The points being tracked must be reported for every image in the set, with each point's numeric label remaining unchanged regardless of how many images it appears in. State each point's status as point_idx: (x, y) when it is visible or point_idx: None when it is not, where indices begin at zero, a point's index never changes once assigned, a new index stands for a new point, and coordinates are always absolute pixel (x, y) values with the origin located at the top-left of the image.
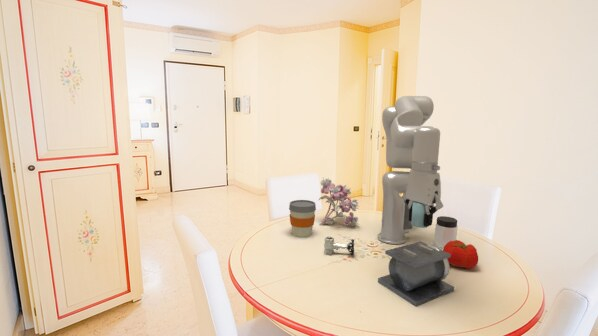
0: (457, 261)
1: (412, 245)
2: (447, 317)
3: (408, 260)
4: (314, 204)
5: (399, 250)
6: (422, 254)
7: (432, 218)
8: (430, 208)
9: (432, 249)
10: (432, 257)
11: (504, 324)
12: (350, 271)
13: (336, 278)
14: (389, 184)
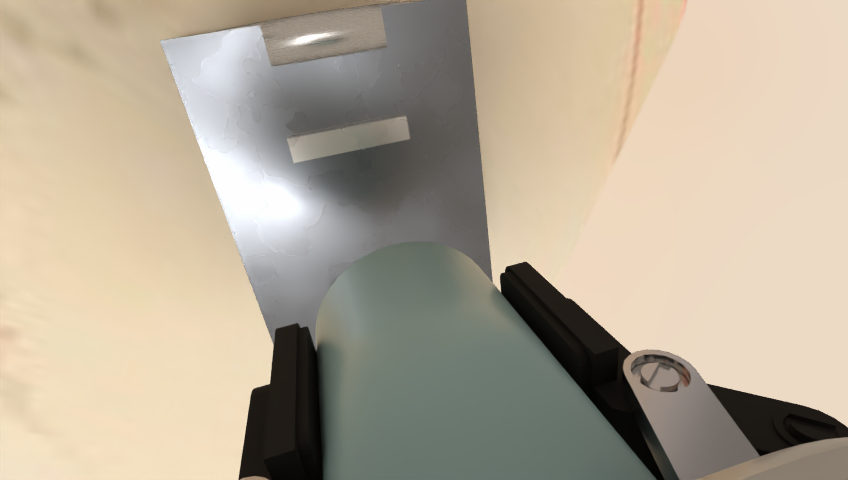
0: None
1: (242, 175)
2: (546, 182)
3: None
4: None
5: (306, 308)
6: (402, 204)
7: (602, 329)
8: (654, 446)
9: (401, 118)
10: (459, 171)
11: (655, 18)
12: (143, 364)
13: (202, 426)
14: None
